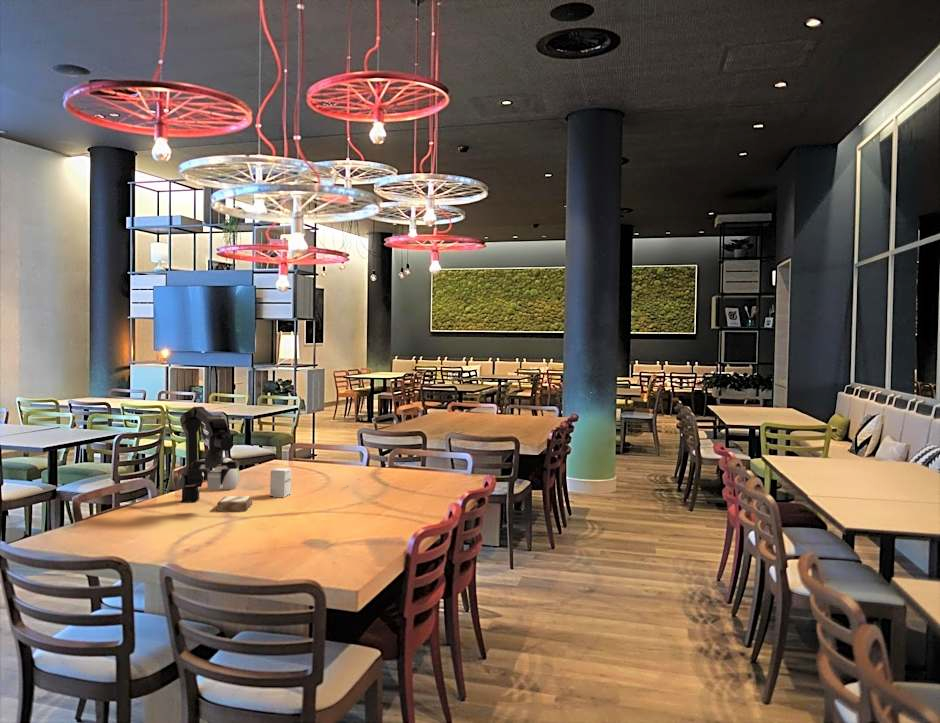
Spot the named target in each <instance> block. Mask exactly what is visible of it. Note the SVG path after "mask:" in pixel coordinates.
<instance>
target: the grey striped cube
mask: <svg viewBox="0 0 940 723" xmlns="http://www.w3.org/2000/svg"><path fill="white" fill-rule="evenodd" d="M221 475H222V471H215V470H210V472H208V475H207V478H208V482H207V481H206V482H207V485H206V486H207V487H206V489H207V490H219V489H221V488H222V487H223V484H222V485H221Z"/></svg>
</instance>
